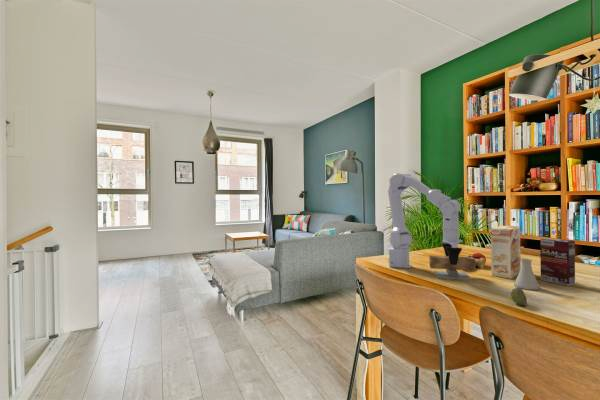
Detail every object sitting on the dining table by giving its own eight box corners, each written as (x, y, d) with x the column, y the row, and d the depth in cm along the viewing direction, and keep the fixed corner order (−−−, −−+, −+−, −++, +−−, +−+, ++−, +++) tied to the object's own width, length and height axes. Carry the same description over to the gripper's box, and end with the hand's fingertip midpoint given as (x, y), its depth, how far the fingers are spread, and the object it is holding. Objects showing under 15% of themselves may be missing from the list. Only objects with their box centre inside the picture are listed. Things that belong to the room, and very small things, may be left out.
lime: (524, 302, 84) (524, 285, 84) (533, 308, 79) (533, 291, 79) (507, 301, 85) (507, 285, 85) (515, 307, 81) (515, 290, 81)
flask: (542, 291, 93) (541, 262, 93) (515, 288, 96) (514, 260, 96) (537, 285, 99) (537, 258, 99) (512, 283, 103) (511, 256, 103)
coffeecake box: (511, 279, 107) (510, 229, 107) (490, 275, 113) (489, 228, 113) (521, 272, 117) (520, 226, 117) (501, 269, 122) (500, 225, 122)
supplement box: (539, 280, 105) (539, 238, 105) (547, 278, 107) (546, 237, 107) (569, 286, 97) (568, 241, 97) (576, 284, 99) (575, 240, 99)
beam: (431, 268, 114) (430, 257, 114) (429, 266, 117) (429, 255, 117) (475, 270, 109) (475, 259, 109) (472, 268, 112) (472, 257, 112)
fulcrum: (437, 278, 111) (437, 270, 111) (434, 272, 119) (433, 264, 119) (471, 280, 107) (471, 272, 107) (465, 274, 115) (465, 266, 115)
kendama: (477, 276, 117) (492, 263, 128) (472, 261, 117) (488, 250, 128) (458, 275, 123) (474, 263, 134) (454, 262, 123) (470, 251, 134)
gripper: (466, 231, 105) (467, 267, 105) (457, 227, 119) (458, 259, 119) (445, 231, 107) (446, 266, 107) (439, 227, 121) (440, 258, 121)
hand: (451, 262), depth 113 cm, fingers open, 7 cm apart
